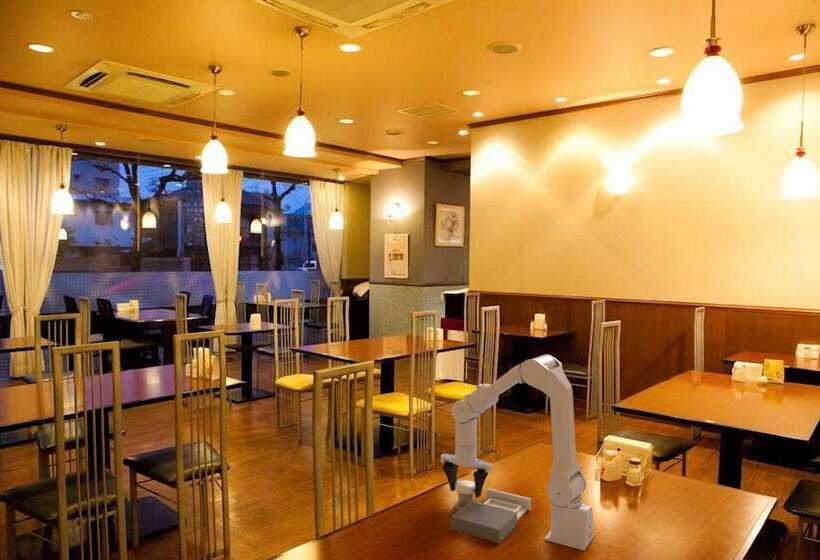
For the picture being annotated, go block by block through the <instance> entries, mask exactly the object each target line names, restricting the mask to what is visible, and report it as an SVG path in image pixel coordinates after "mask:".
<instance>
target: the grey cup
mask: <svg viewBox="0 0 820 560" xmlns="http://www.w3.org/2000/svg"><path fill="white" fill-rule="evenodd" d="M470 501H474V493H473V494H460V493H458V492H457V501H455V502H454V508H455V509H456V510H457V511H459V510H460V509H461V508H462V507H464V506H465V505H466V504H467V503H469V502H470Z"/></svg>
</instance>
